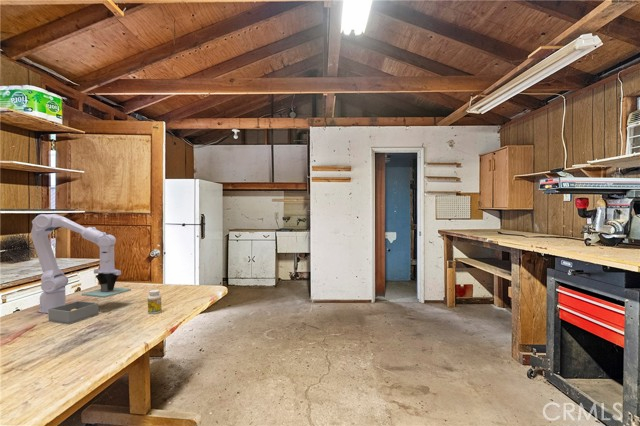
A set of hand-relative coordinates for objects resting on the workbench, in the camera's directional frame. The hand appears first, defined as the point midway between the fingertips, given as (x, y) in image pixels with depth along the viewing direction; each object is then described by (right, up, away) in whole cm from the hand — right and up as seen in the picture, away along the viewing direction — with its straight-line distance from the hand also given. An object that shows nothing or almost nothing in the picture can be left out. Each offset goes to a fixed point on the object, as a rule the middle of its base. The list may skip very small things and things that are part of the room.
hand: (107, 289), depth 147 cm
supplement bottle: (+26, -9, -7) cm, 28 cm away
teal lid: (0, -2, 0) cm, 2 cm away
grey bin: (-5, -9, -14) cm, 17 cm away
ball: (-5, -6, -14) cm, 16 cm away
